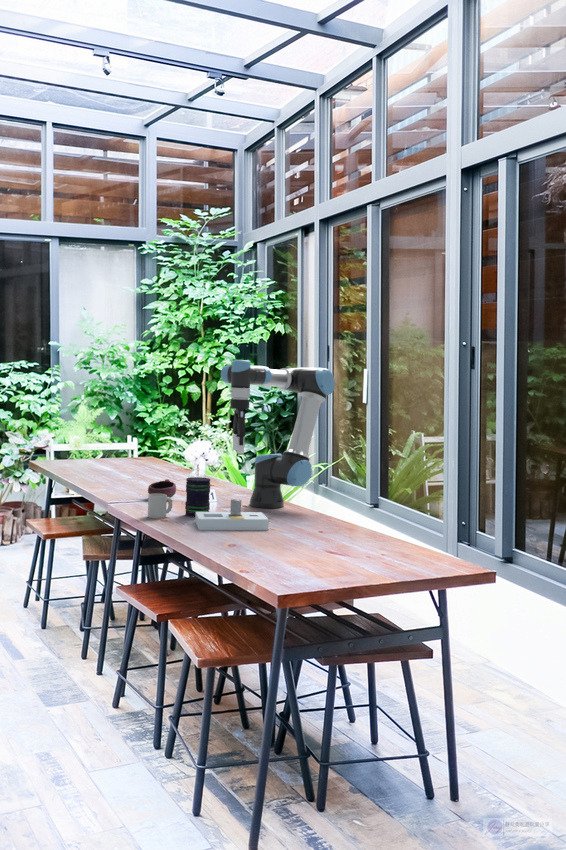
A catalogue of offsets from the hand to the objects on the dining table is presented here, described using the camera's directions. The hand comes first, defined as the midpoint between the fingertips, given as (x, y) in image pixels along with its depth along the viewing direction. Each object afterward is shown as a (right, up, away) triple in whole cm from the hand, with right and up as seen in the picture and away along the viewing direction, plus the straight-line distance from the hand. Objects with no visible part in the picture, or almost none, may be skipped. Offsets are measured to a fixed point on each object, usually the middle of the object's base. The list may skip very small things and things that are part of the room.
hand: (238, 452), depth 324 cm
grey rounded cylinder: (0, -28, -16) cm, 32 cm away
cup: (-31, -26, -2) cm, 40 cm away
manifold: (-2, -28, -16) cm, 32 cm away
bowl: (-38, -23, +44) cm, 63 cm away
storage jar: (-17, -26, +5) cm, 31 cm away
